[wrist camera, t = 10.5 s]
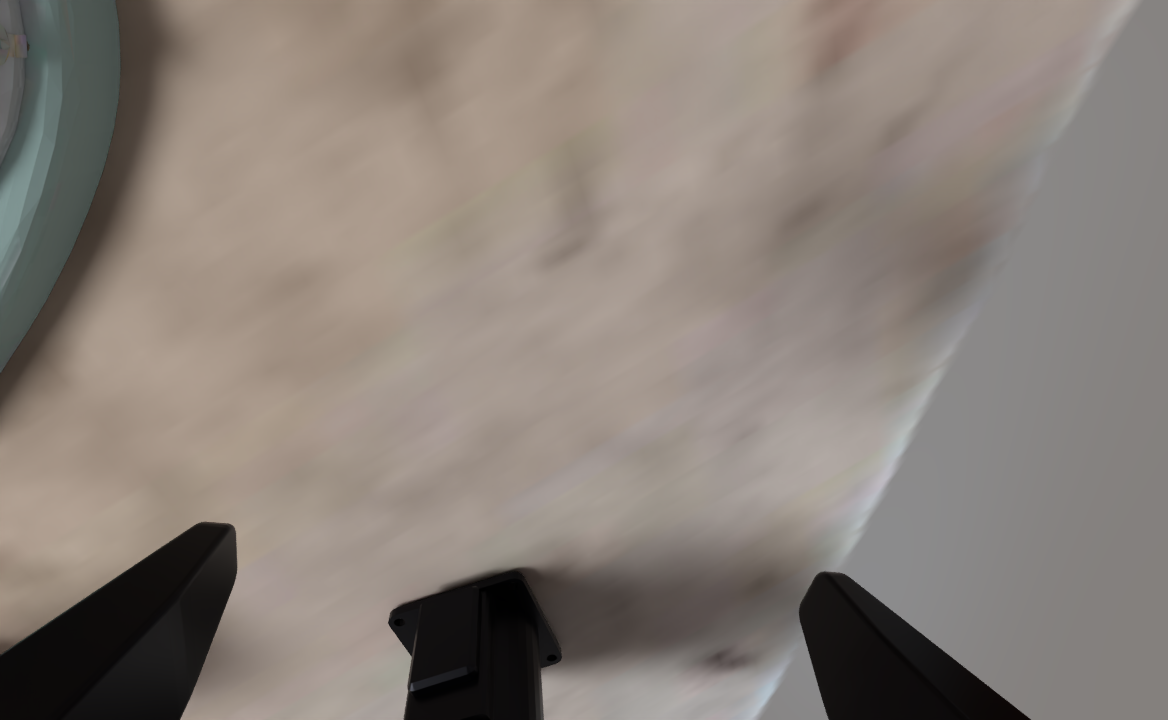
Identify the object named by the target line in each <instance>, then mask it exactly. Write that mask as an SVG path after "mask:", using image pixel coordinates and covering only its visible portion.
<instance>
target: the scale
mask: <svg viewBox="0 0 1168 720" xmlns="http://www.w3.org/2000/svg"><path fill="white" fill-rule="evenodd" d="M120 70H121V62H120V37H119V22H118V15H117V9H116V2H115V0H0V373H1V372H2V370H3V368H4V367H5V365H6V364H7V362H8V361H9V359H10V358H11V356H12V355H13V353H14V351H15V350H16V348H17V347H18V345H19V344H20V342H21V341H22V339H23V338H24V336H25V335H26V333H27V331H28V330H29V328H30V327H31V325H32V323H33V322H34V320H35V318H36V317H37V315H38V314H39V312H40V310H41V309H42V307H43V305H44V304H45V302H46V300H47V298H48V296H49V295H50V293H51V291H52V289H53V287H54V285H55V283H56V281H57V279H58V277H59V275H60V273H61V271H62V269H63V267H64V265H65V263H66V261H67V259H68V257H69V255H70V253H71V251H72V249H73V246H74V244H75V242H76V239H77V237H78V235H79V232H80V230H81V228H82V225H83V223H84V220H85V218H86V216H87V213H88V211H89V208H90V206H91V203H92V200H93V197H94V195H95V192H96V189H97V186H98V183H99V181H100V178H101V175H102V172H103V169H104V166H105V162H106V159H107V155H108V151H109V147H110V143H111V139H112V135H113V131H114V125H115V119H116V112H117V106H118V100H119V87H120Z"/></svg>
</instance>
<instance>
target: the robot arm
mask: <svg viewBox="0 0 1168 720" xmlns="http://www.w3.org/2000/svg"><path fill="white" fill-rule="evenodd" d="M236 574H237V547H236V531H235V528H234V526H233V525H231V524H228V523H215V522H201V523H198V524H196V525H194V526H193V527H191V528H190V529H188V530H187V531H185V532H184V533H182V534H181V535H179V536H178V537H176V538H175V539H173V540H172V541H170V542H169V543H167V544H166V545H164V546H163V547H161V548H160V549H158V550H157V551H155V552H154V553H152V554H151V555H149V556H148V557H146V558H145V559H143V560H142V561H140V562H139V563H137V564H136V565H134V566H133V567H131V568H130V569H128V570H127V571H125V572H124V573H122V574H121V575H119V576H118V577H116V578H115V579H113V580H112V581H110V582H109V583H107V584H106V585H104V586H103V587H101V588H100V589H98V590H97V591H95V592H94V593H92V594H91V595H89V596H88V597H86V598H85V599H83V600H82V601H80V602H79V603H77V604H76V605H74V606H73V607H71V608H70V609H68V610H67V611H65V612H64V613H62V614H61V615H59V616H58V617H56V618H55V619H53V620H52V621H50V622H49V623H47V624H46V625H44V626H43V627H41V628H40V629H38V630H37V631H35V632H34V633H32V634H31V635H29V636H28V637H26V638H25V639H23V640H22V641H20V642H19V643H17V644H16V645H14V646H13V647H11V648H10V649H8V650H7V651H5V652H4V653H2V654H1V655H0V720H180V718H181V716H182V714H183V712H184V710H185V708H186V706H187V704H188V702H189V700H190V697H191V695H192V692H193V690H194V687H195V685H196V682H197V680H198V677H199V675H200V672H201V670H202V667H203V664H204V662H205V659H206V656H207V654H208V651H209V649H210V646H211V643H212V641H213V638H214V636H215V633H216V630H217V628H218V625H219V622H220V620H221V617H222V615H223V612H224V609H225V607H226V604H227V601H228V599H229V596H230V594H231V591H232V588H233V586H234V583H235V579H236ZM513 582H516V583H513ZM799 618H800V623H801V626H802V630H803V633H804V637H805V640H806V644H807V647H808V651H809V654H810V658H811V661H812V665H813V669H814V672H815V676H816V679H817V683H818V686H819V690H820V693H821V697H822V700H823V703H824V707H825V709H826V713H827V716H828V719H829V720H1031V719H1030V718H1028V717H1027V716H1026V715H1024V714H1023V713H1022V712H1020V711H1019V710H1018V709H1017V708H1015V707H1014V706H1013V705H1012V704H1010V703H1009V702H1008V701H1006V700H1005V699H1004V698H1003V697H1001V696H1000V695H999V694H997V693H996V692H995V691H994V690H992V689H991V688H990V687H989V686H987V685H986V684H985V683H984V682H982V681H981V680H979V678H977V677H976V676H975V675H973V674H972V673H971V672H970V671H968V670H967V669H966V668H964V667H963V666H962V665H961V664H959V663H958V662H957V661H956V660H954V659H953V658H952V657H950V656H949V655H948V654H947V653H945V652H944V651H943V650H942V649H940V648H939V647H938V646H936V645H935V644H934V643H932V642H931V641H930V640H929V639H927V638H926V637H925V636H924V635H922V634H921V633H920V632H918V631H917V630H916V629H915V628H913V627H912V626H911V625H909V624H908V623H907V622H906V621H905V620H903V619H902V618H901V617H899V616H898V615H897V614H896V613H894V612H893V611H892V610H890V609H889V608H888V607H887V606H885V605H884V604H883V603H882V602H880V601H879V600H878V599H876V598H875V597H874V596H873V595H871V594H870V593H869V592H868V591H866V590H865V589H864V588H862V587H861V586H860V585H859V584H857V583H856V582H855V581H854V580H852V579H851V578H850V577H848V576H847V575H845V574H843V573H837V572H820V573H819V574H817V575H816V577H815V578H814V580H813V582H812V584H811V585H810V587H809V589H808V591H807V593H806V595H805V596H804V598H803V600H802V602H801V604H800V608H799ZM388 624H389V626H390V627H391V629H392V630H393V631H394V633H395V634H396V636H397V637H398V638H399V640H400V641H401V643H402V644H403V645H404V647H405V648H406V649H407V651H408V652H409V654H410V655H411V656H412V660H411V666H410V673H409V679H408V694H407V701H406V707H405V714H404V720H544V714H543V697H542V681H541V668H544V667H547V666H550V665H553V664H556V663H558V662H559V661H560V660H561V658H562V654H561V648H560V646H559V644H558V642H557V640H556V638H555V636H554V634H553V632H552V630H551V628H550V626H549V624H548V622H547V620H546V618H545V616H544V614H543V612H542V610H541V609H540V607H539V605H538V603H537V601H536V599H535V597H534V595H533V593H532V591H531V589H530V587H529V585H528V583H527V581H526V579H525V577H524V576H523V575H522V574H521V573H519V572H509V573H506V574H502V575H499V576H496V577H493V578H490V579H487V580H484V581H480V582H477V583H474V584H471V585H468V586H465V587H461V588H458V589H455V590H452V591H449V592H446V593H443V594H439V595H436V596H433V597H430V598H427V599H424V600H420V601H417V602H414V603H411V604H408V605H405V606H402V607H398V608H396V609H394V610H392V611H391V612H390V617H389V622H388Z"/></svg>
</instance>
